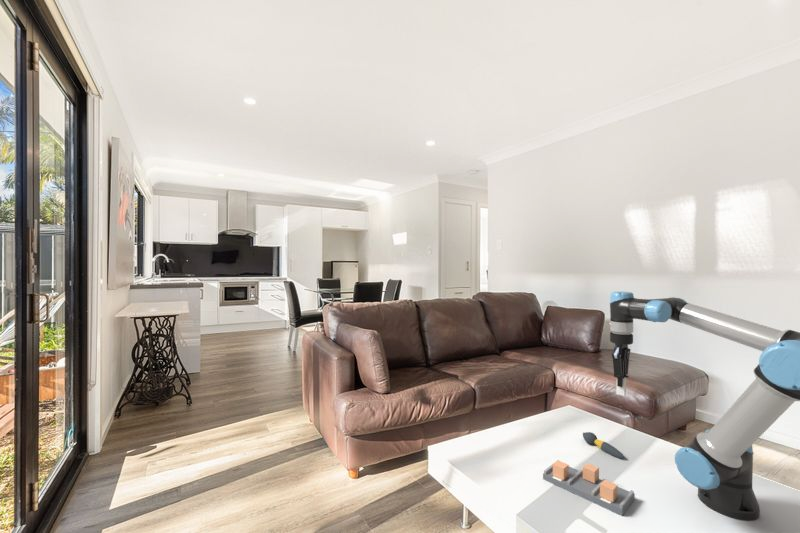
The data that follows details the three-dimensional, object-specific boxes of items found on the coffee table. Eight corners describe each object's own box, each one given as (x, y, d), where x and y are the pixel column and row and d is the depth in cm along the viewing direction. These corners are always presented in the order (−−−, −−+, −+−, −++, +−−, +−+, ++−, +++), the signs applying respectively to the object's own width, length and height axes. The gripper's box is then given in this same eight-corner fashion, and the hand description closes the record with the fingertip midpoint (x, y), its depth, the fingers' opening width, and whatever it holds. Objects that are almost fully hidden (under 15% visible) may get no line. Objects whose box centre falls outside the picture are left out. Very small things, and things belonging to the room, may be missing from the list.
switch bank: (634, 499, 123) (634, 490, 123) (622, 516, 115) (622, 506, 115) (558, 467, 142) (558, 459, 142) (543, 479, 134) (543, 471, 134)
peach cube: (598, 478, 131) (599, 467, 131) (594, 483, 128) (594, 471, 128) (587, 473, 134) (587, 463, 134) (582, 478, 131) (582, 467, 131)
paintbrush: (629, 458, 149) (629, 446, 149) (622, 461, 146) (622, 449, 146) (584, 438, 166) (584, 427, 166) (577, 441, 163) (577, 429, 163)
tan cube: (568, 475, 133) (568, 464, 132) (563, 480, 130) (563, 468, 130) (557, 470, 136) (557, 460, 135) (552, 475, 133) (552, 464, 133)
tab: (617, 496, 121) (617, 484, 120) (613, 502, 118) (613, 489, 118) (604, 491, 124) (604, 479, 123) (599, 496, 121) (599, 484, 121)
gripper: (616, 329, 146) (616, 388, 146) (604, 333, 137) (603, 395, 138) (638, 331, 140) (637, 393, 141) (626, 336, 132) (626, 401, 132)
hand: (621, 394), depth 139 cm, fingers closed
